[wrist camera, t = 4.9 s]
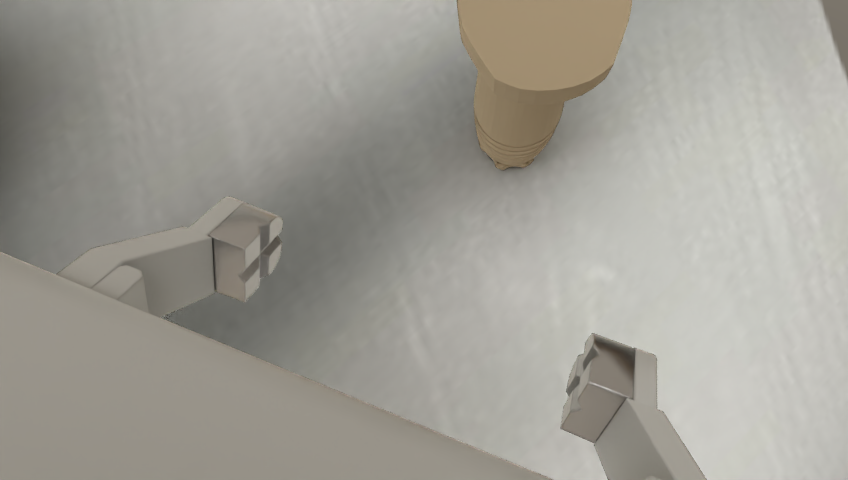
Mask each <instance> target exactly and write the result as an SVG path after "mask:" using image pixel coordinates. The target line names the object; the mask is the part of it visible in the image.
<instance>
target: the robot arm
mask: <svg viewBox="0 0 848 480" xmlns="http://www.w3.org/2000/svg"><path fill="white" fill-rule="evenodd" d="M282 230H283V219H282V218H281V217H280V216H279V215H276V214H274V213H271V212H269V211H266V210H264V209H261V208H259V207H256V206H254V205H251V204H249V203H245V202H243V201H240V200H238V199H235V198H233V197H230V196H228V197H224V198H223V199H222V200H220V201H219V202H218V203H217V204H216V205H215V206H213V207H212V208H211V209H210V210H209V211H208V212H206V213H205V214H204V215H203V216H202V217H201V218H199V219H198V220H197V221H196V222H195V223H194V224H192V225H191V226H190V227H189V228H186V227H183V226H182V227H178V228H174V229H170V230H166V231H162V232H157V233H153V234H149V235H145V236H141V237H137V238H132V239H128V240H124V241H120V242H116V243H112V244H107V245H103V246H99V247H95V248H91V249H89V250H88V251H87V252H85V253H84V254H83V255H81V256H80V257H78V258H77V259H76V260H74V261H73V262H72V263H70V264H69V265H68V266H66V267H65V268H64V269H62V270H61V271H60V272H58V273H57V274H56V275H55V274H53V273H51V272H48V271H46V270H43V269H41V268H38V267H36V266H34V265H31V264H29V263H26V262H24V261H21V260H19V259H17V258H14V257H12V256H9V255H7V254H4V253H2V252H0V480H553V479H551V478H548V477H546V476H543V475H541V474H538V473H536V472H533V471H531V470H529V469H526V468H524V467H521V466H519V465H516V464H514V463H512V462H509V461H507V460H504V459H502V458H499V457H497V456H494V455H492V454H490V453H487V452H485V451H482V450H480V449H478V448H475V447H473V446H470V445H468V444H465V443H463V442H461V441H458V440H456V439H453V438H451V437H449V436H446V435H444V434H441V433H439V432H436V431H434V430H432V429H429V428H427V427H424V426H422V425H419V424H417V423H415V422H412V421H410V420H407V419H405V418H403V417H400V416H398V415H395V414H393V413H390V412H388V411H386V410H383V409H381V408H378V407H376V406H373V405H371V404H369V403H366V402H364V401H361V400H359V399H356V398H354V397H352V396H349V395H347V394H344V393H342V392H339V391H337V390H335V389H332V388H330V387H327V386H325V385H322V384H320V383H318V382H315V381H313V380H310V379H308V378H305V377H303V376H301V375H298V374H296V373H293V372H291V371H288V370H286V369H283V368H281V367H279V366H276V365H274V364H271V363H269V362H267V361H264V360H262V359H259V358H257V357H254V356H252V355H250V354H247V353H245V352H242V351H240V350H237V349H235V348H233V347H230V346H228V345H225V344H223V343H220V342H218V341H216V340H213V339H211V338H208V337H206V336H203V335H201V334H199V333H196V332H194V331H191V330H189V329H186V328H184V327H182V326H179V325H177V324H174V323H172V322H169V321H167V320H165V319H162V318H160V317H162V316H164V315H167V314H169V313H171V312H173V311H176V310H178V309H180V308H183V307H185V306H187V305H189V304H192V303H194V302H196V301H199V300H201V299H203V298H205V297H208V296H210V295H212V294H215V292H217V293H220V294H223V295H225V296H228V297H231V298H234V299H236V300H239V301H242V302H244V303H245V302H246V301H247V300H248V299H249V298H250V297H251V295H252V294H253V293H254V292H255V291H256V290H257V289H258V287H259V282H260V278H263V277H266V276H269V275H270V273H271V272H272V271H273V270H274V269H275V267H276V265H277V263H278V261H279V259H280V255H281V251H282V241H281V240H280V238H279V236H278V234H279V233H280V232H281V231H282ZM566 392H567V394H568V396H569V398H568V400H567V401H566V403H565V405H564V407H563V414H562V421H561V427H560V429H562V430H565V431H567V432H569V433H572V434H574V435H576V436H579V437H581V438H583V439H586V440H588V441H590V442H593V443H595V444H594V446H595V448H596V451H597V453H598V456H599V458H600V461H601V463H602V466H603V468H604V471H605V473H606V476H607V478H608V480H707V479H706V478H705V476H704V474H703V473H702V471H701V470H700V468H699V467H698V465H697V464H696V462H695V460H694V459H693V457H692V456H691V454H690V453H689V451H688V450H687V448H686V446H685V445H684V443H683V442H682V440H681V439H680V437H679V435H678V434H677V432H676V431H675V429H674V428H673V426H672V425H671V423H670V421H669V420H668V418H667V417H666V415H665V414H664V412H663V411H660V410H658V409H657V358H656V356H655V355H654V354H651V353H648V352H645V351H642V350H639V349H637V348H632V347H630V346H627V345H625V344H622V343H619V342H616V341H614V340H611V339H608V338H606V337H603V336H600V335H597V334H595V333H592V334H591V335H590V336H589V338H588V340H587V341H586V343H585V349H584V353H583V354H581V355H578V357H577V359H576V361H575V363H574V365H573V368H572V370H571V373H570V376H569V380H568V384H567V389H566Z"/></svg>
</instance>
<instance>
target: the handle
mask: <svg viewBox="0 0 848 480" xmlns="http://www.w3.org/2000/svg"><path fill="white" fill-rule="evenodd" d="M631 6H632V0H457V8H458V18H459V27H460V34H461V39H462V43H463V45H464V46H465V48H466V50H467V52H468V54H469V56H470V58H471V60H472V61H473V63H474V64H475V66H476V68H477V69H478V76H477V82H476V89H475V96H474V118H475V125H476V131H477V136H478V140H479V145H480V147H481V149H482V151H484V152H486V153H487V154H488V155H489V156H490V157H491V158H492V159H493V161H494V163H495V166H496V168H498V169H501V170H505V169H506V168H509V167H513V166H518V167H522V168H524V167H526V166H528V165H529V164H531V163H532V162H533V160H534V157H535V156H536V155H538V154H539V153H540V152H541V151H542V149H543V148H544V147H545V146H546V144H547V143H548V141H549V140H550V138H551V137H552V135H553V133H554V131H555V129H556V127H557V124H558V122H559V120H560V117H561V114H562V111H563V107H564V102H565V101H567V100H570V99H573V98H576V97H578V96H581V95H583V94H585V93H586V92H588V91H590V90H591V89H593V88H594V87H596V86H597V85H598V84H599V83H601V82H602V81H603V80H604V79H605V78H606V77H607V75H608V73H609V71H610V70H611V68H612V66H613V64H614V61H615V58H616V56H617V53H618V50H619V47H620V45H621V42H622V39H623V36H624V33H625V30H626V27H627V24H628V21H629V16H630V11H631Z"/></svg>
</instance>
